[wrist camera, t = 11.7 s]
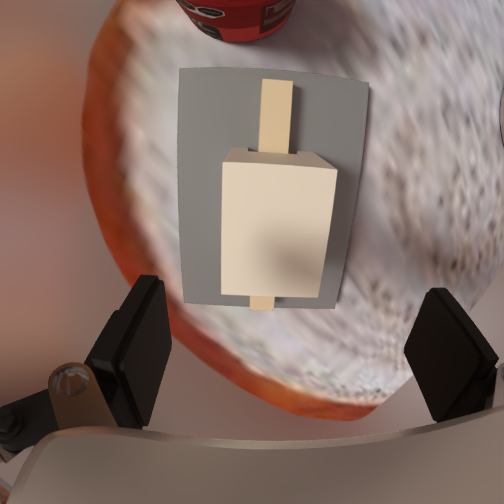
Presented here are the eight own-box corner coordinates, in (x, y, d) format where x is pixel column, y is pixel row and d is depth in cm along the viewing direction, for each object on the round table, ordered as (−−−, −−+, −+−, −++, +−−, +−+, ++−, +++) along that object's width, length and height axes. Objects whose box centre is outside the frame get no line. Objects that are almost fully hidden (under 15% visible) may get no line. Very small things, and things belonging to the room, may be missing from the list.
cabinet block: (312, 152, 22) (337, 169, 15) (301, 258, 25) (315, 307, 19) (231, 147, 21) (222, 162, 15) (228, 255, 25) (221, 304, 19)
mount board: (362, 84, 20) (377, 81, 17) (331, 299, 29) (338, 320, 26) (183, 70, 20) (173, 65, 17) (186, 293, 29) (180, 314, 26)
